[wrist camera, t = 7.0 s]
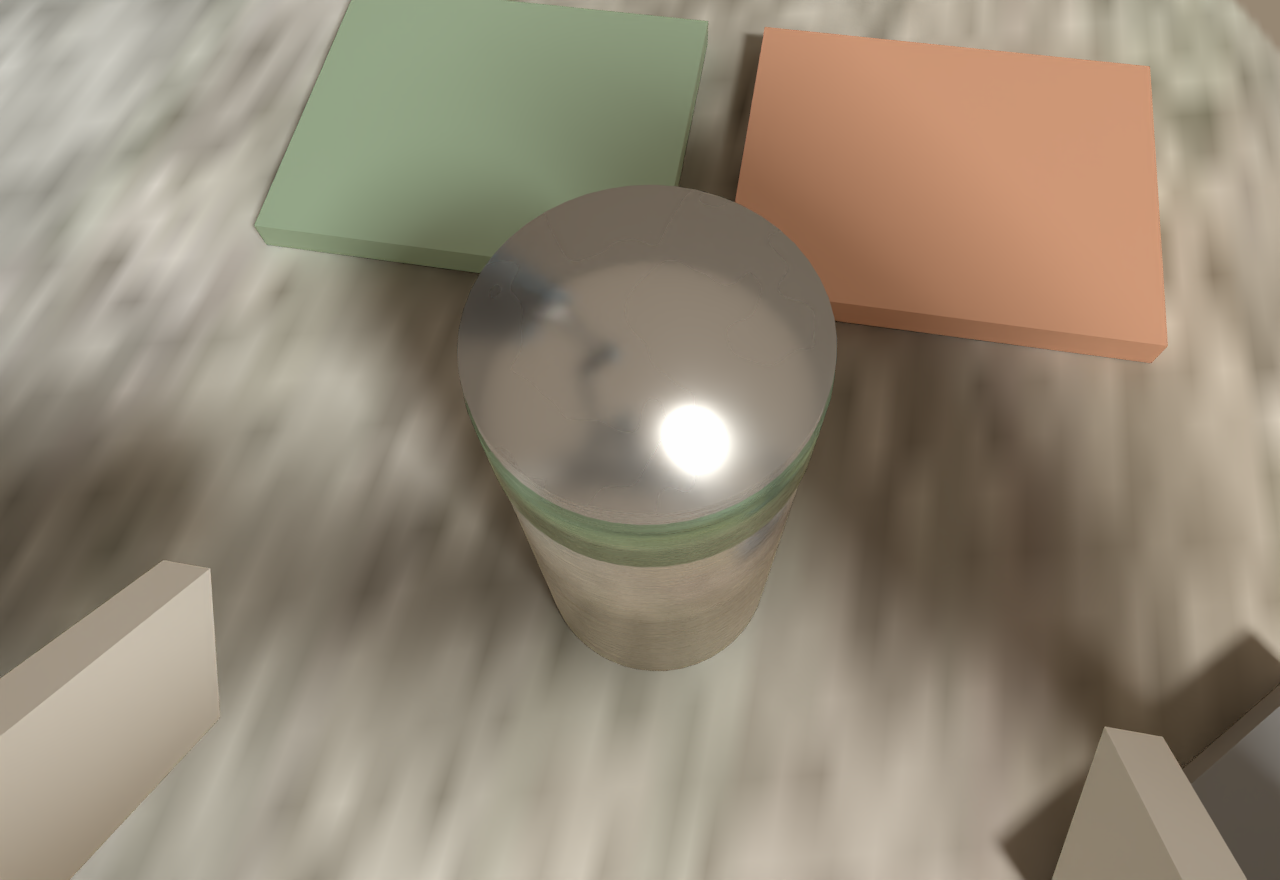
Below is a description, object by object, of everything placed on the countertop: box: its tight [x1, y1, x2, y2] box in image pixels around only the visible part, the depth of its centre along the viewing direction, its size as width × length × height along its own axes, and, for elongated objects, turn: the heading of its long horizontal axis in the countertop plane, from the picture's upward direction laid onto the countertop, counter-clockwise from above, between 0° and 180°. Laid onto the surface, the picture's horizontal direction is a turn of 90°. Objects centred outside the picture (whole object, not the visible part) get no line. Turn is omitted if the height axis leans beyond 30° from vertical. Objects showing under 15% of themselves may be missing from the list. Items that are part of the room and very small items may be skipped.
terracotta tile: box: [735, 27, 1168, 363], centre depth 30 cm, size 11×13×1 cm
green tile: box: [254, 0, 708, 273], centre depth 32 cm, size 11×13×1 cm
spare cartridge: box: [457, 185, 837, 671], centre depth 20 cm, size 6×6×12 cm
